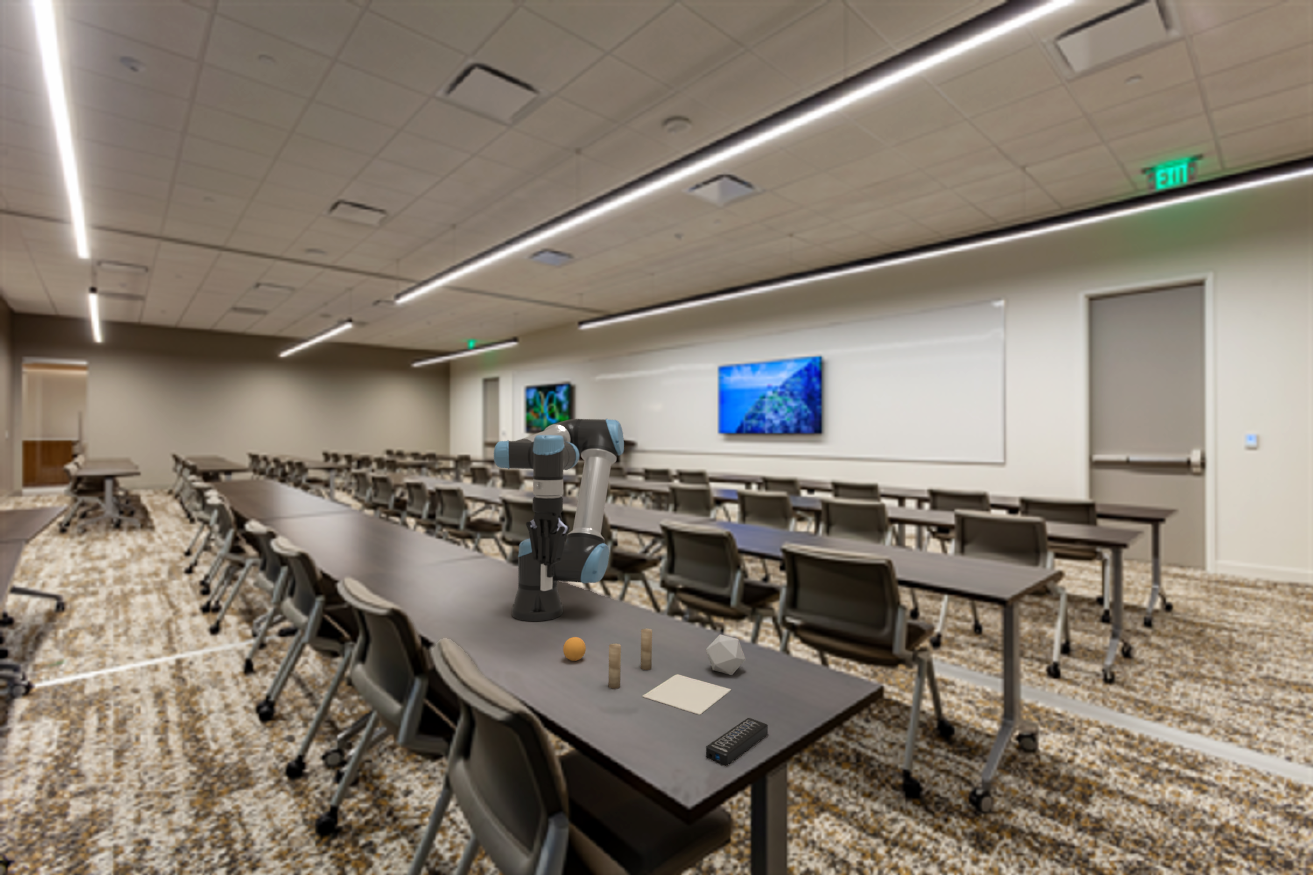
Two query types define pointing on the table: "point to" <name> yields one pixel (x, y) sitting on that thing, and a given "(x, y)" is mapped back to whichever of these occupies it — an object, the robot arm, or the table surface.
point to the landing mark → (687, 694)
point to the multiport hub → (736, 741)
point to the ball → (574, 648)
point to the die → (725, 654)
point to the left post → (614, 665)
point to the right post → (646, 649)
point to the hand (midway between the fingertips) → (546, 589)
